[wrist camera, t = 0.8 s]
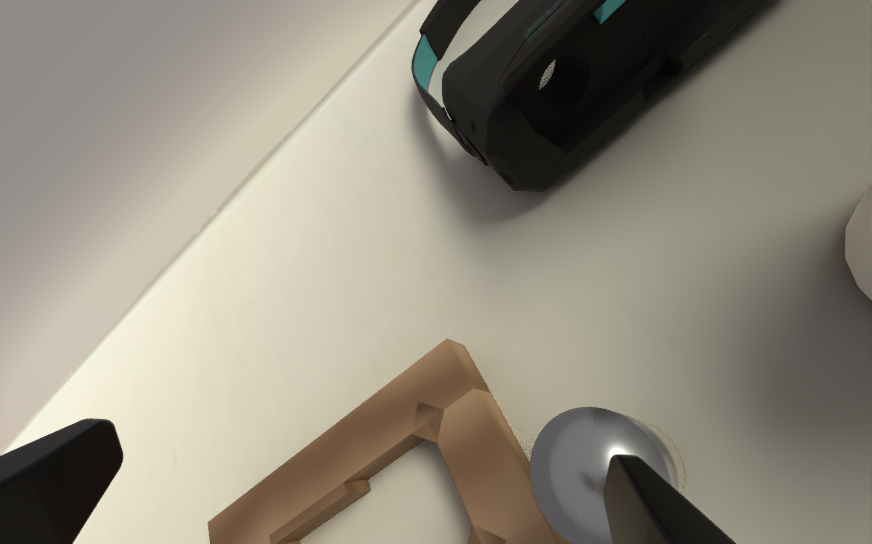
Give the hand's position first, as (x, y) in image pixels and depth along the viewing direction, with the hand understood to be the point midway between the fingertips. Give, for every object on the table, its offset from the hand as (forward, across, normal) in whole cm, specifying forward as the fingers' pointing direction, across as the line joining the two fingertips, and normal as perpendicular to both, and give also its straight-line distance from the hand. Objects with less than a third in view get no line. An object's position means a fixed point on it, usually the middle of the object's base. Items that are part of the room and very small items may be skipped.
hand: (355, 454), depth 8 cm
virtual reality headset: (+26, -8, -10) cm, 29 cm away
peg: (+8, -9, +8) cm, 15 cm away
